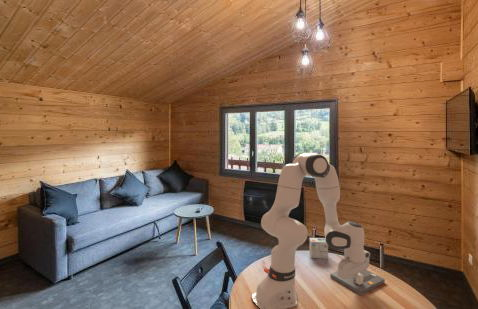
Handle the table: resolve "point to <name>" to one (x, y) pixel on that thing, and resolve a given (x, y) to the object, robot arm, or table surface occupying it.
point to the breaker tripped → (359, 279)
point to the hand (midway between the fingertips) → (353, 281)
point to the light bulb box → (318, 248)
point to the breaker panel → (368, 284)
